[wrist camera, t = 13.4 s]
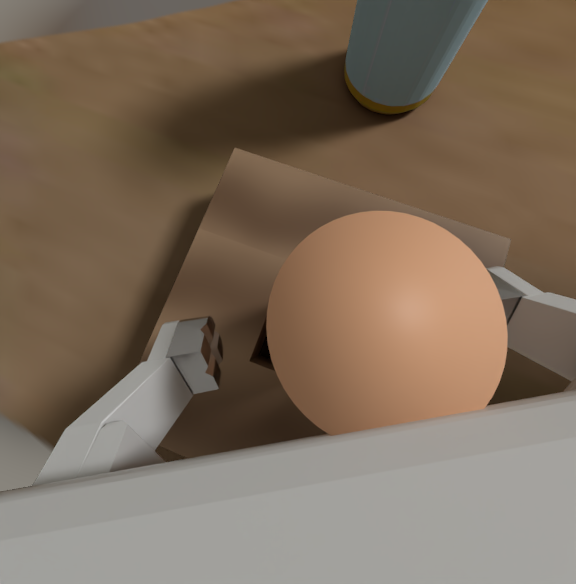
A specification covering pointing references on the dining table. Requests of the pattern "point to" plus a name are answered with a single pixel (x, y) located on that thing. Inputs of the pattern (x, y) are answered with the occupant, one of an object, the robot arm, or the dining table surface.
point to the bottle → (404, 49)
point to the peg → (385, 324)
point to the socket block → (263, 293)
